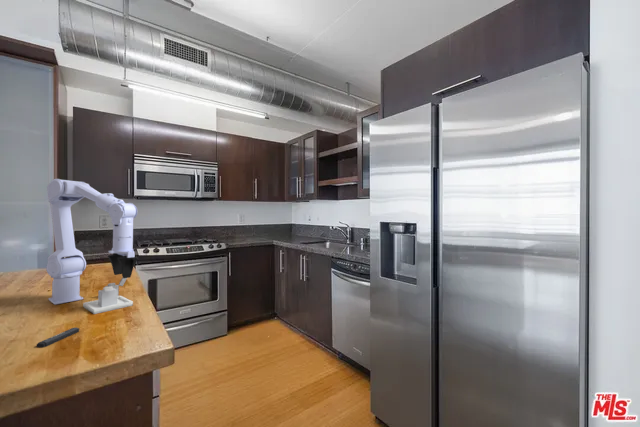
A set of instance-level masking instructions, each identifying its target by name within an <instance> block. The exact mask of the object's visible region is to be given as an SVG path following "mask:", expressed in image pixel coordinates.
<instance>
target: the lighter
mask: <svg viewBox="0 0 640 427" xmlns="http://www.w3.org/2000/svg"><path fill="white" fill-rule="evenodd" d="M127 280H128V278H123V277H121V279H120V281H119V282H118V284H116V282H109V283H107V285H105V286H104V288H105V287H111V286H112V287H113V288H115V289H117V290H118V296H120V295H119V294H120V293H119V290H120V288H119V287H123V286H124V284H125V283H126V281H127Z"/></svg>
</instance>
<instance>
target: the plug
mask: <svg viewBox="0 0 640 427" xmlns="http://www.w3.org/2000/svg"><path fill="white" fill-rule="evenodd" d="M97 300H98V305H99V306H100V307H106V306H110V305H115V304H117V301H118V290H117V289H115V288H113V287H112V286H111V287H105V286H104V287H103V288H102V289H101V290H98V296H97Z"/></svg>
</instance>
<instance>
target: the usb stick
mask: <svg viewBox="0 0 640 427" xmlns="http://www.w3.org/2000/svg"><path fill="white" fill-rule="evenodd" d="M79 332H80V328H79V327H72V328H69V329H68V330H65V331H63V332H60V333H58V334H55V335H53V336H50V337H48V338H46V339H44V340H42V341H39V342H38V343H36V348H46V347H49V346H50V345H51V346H52V345H53V344H56V343H57V342H60V341H62V340H65V339H66V338H68V337H71V336H73V335H75V334H77V333H79Z"/></svg>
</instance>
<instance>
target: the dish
mask: <svg viewBox="0 0 640 427" xmlns="http://www.w3.org/2000/svg"><path fill="white" fill-rule="evenodd" d="M82 304H83V305H82V306H83V308H84V309H85V310H87V311H88V312H90V313H91V314H93V315H96V314H101V313H106V312H109V311H110V312H111V311H115V310H119V309H123V308H127V307H132V306H133V305H134V301H133V300H131V299H128V298H126V297H124V296H123V295H119V296H118V301H117V304H115V305H110V306H106V307H100V306H99V305H98V299H95V300H91V301H90V300H89V301H86V302H83V303H82Z"/></svg>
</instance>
